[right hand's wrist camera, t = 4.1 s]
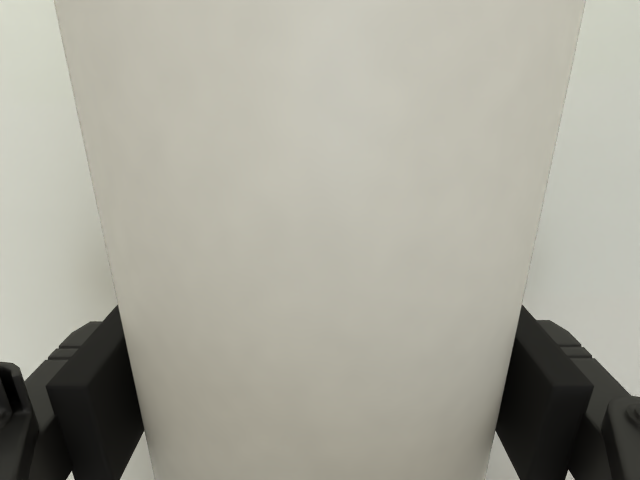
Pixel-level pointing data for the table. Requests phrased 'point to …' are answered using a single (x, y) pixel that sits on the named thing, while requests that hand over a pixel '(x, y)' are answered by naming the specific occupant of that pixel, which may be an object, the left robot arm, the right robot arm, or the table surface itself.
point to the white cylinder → (319, 221)
